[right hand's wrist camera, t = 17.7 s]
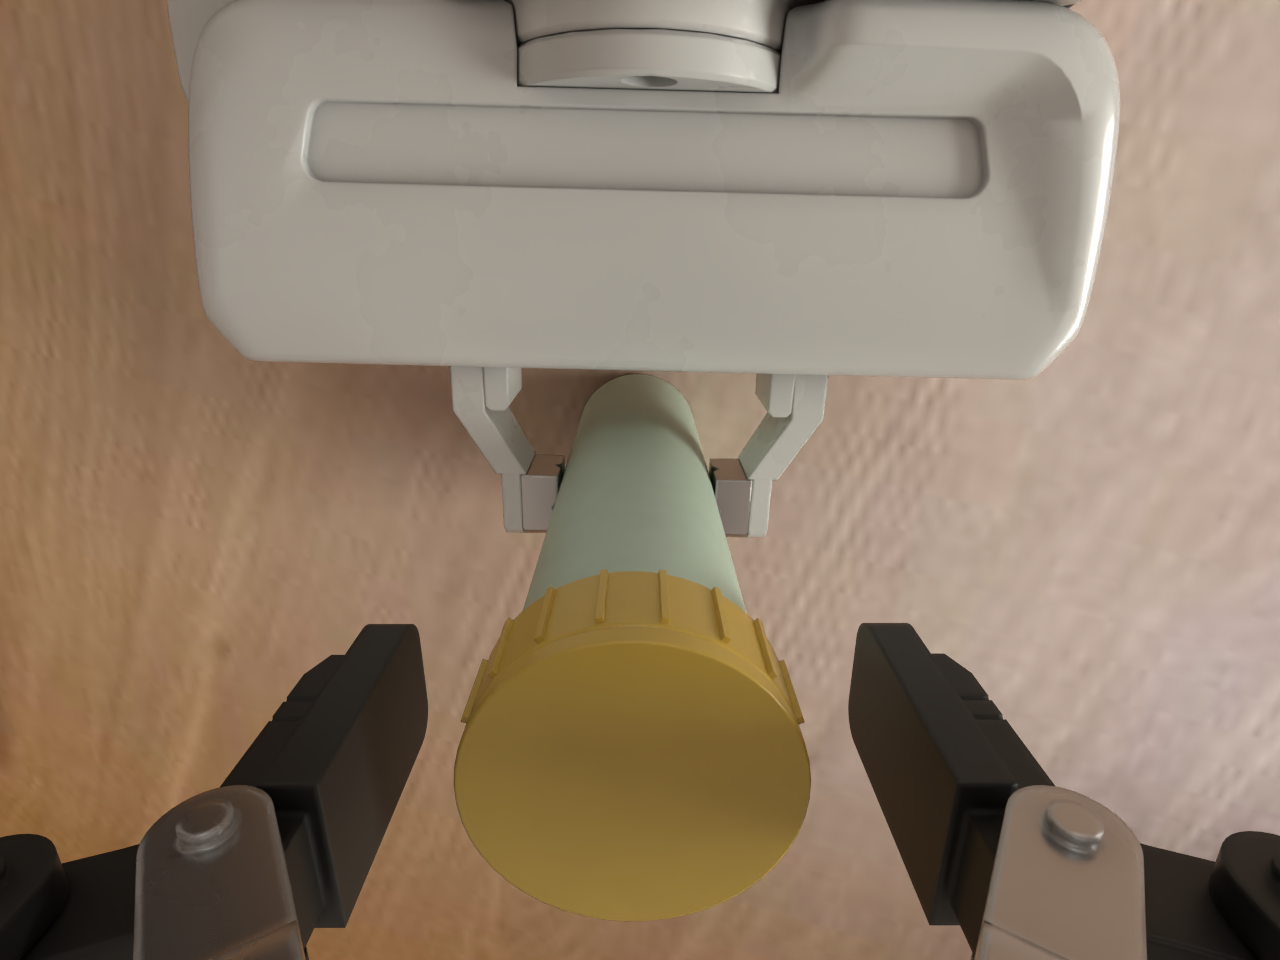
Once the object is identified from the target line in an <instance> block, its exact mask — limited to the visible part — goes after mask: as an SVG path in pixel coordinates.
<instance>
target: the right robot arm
mask: <svg viewBox="0 0 1280 960" xmlns="http://www.w3.org/2000/svg"><path fill="white" fill-rule="evenodd" d="M848 710H849V723H850V729H851V734H852V738H853V741H854V743H855V746H856V748H857V751H858V753H859V756H860V758H861V760H862V763H863V765H864V768H865V770H866V772H867V775H868V777H869V780H870V782H871V785H872V787H873V789H874V792H875V794H876V797H877V799H878V801H879V804H880V806H881V809H882V811H883V814H884V816H885V818H886V821H887V823H888V826H889V828H890V830H891V833H892V835H893V838H894V840H895V843H896V845H897V847H898V850H899V852H900V855H901V857H902V860H903V862H904V864H905V867H906V869H907V872H908V874H909V876H910V879H911V881H912V884H913V886H914V889H915V891H916V893H917V896H918V898H919V901H920V903H921V905H922V908H923V910H924V913H925V915H926V918H927V920H928V922H929V925H960V926H961V928H962V930H963V932H964V934H965V937H966V939H967V941H968V943H969V945H970V948H971V950H972V956H971V960H1280V836H1278V835H1275V834H1270V833H1264V832H1255V831H1246V832H1238V833H1235V834H1232V835H1230V836H1229V837H1227V838H1226V839H1225V841H1224V842H1223V843H1222V846H1221V849H1220V851H1219V854H1218V857H1217V859H1216V862H1213V861H1209V860H1205V859H1201V858H1197V857H1193V856H1188V855H1184V854H1180V853H1176V852H1172V851H1168V850H1164V849H1160V848H1156V847H1151V846H1148V845H1144V844H1141V843H1139V841H1138V839H1137V837H1136V836H1135V834H1134V833H1133V831H1132V830H1131V829H1130V828H1129V827H1128V826H1127V824H1126V823H1125V822H1123V821H1122V820H1121V819H1120V818H1119V817H1118V816H1117V815H1116V814H1114V813H1113V812H1112V811H1110V810H1109V809H1108V808H1106V807H1104V806H1103V805H1101V804H1100V803H1098V802H1096V801H1094V800H1092V799H1090V798H1088V797H1087V796H1084V795H1082V794H1079V793H1077V792H1074V791H1071V790H1068V789H1064V788H1060V787H1055V785H1054V784H1053V783H1052V781H1051V780H1050V778H1049V777H1048V776H1047V774H1046V773H1045V772H1044V770H1043V769H1042V768H1041V766H1040V765H1039V764H1038V762H1037V761H1036V760H1035V758H1034V757H1033V755H1032V754H1031V753H1030V751H1029V750H1028V749H1027V747H1026V746H1025V745H1024V743H1023V742H1022V741H1021V739H1020V738H1019V737H1018V735H1017V734H1016V732H1015V731H1014V730H1013V728H1012V727H1011V726H1010V724H1009V723H1008V722H1007V720H1003V718H1002V714H1001V712H1000V711H999V710H998V708H997V707H996V705H995V704H994V703H993V701H992V700H989V699H988V695H987V693H986V692H985V691H984V689H983V688H982V687H981V685H980V684H979V682H978V681H977V680H976V678H975V677H974V676H973V674H972V673H971V672H969V671H968V670H966V669H965V668H964V667H962V666H961V665H959V664H958V663H957V662H955V661H954V660H952V659H951V658H950V657H948V656H947V655H945V654H931V653H930V652H929V650H928V649H927V647H926V646H925V644H924V643H923V642H922V640H921V639H920V637H919V636H918V634H917V633H916V631H915V630H914V628H913V627H912V626H911V625H910V624H908V623H862V624H861V625H860V627H859V629H858V632H857V638H856V646H855V654H854V662H853V670H852V679H851V687H850V695H849V707H848ZM427 720H428V700H427V692H426V684H425V676H424V668H423V660H422V652H421V644H420V637H419V632H418V629H417V627H416V626H415V625H414V624H368V625H366V626H365V627H364V628H363V629H362V631H361V632H360V634H359V635H358V637H357V638H356V640H355V641H354V642H353V644H352V645H351V647H350V648H349V650H348V651H347V653H346V654H345V655H331V656H329V657H328V658H327V659H325V660H324V661H322V662H321V663H319V664H318V665H317V666H315V667H314V668H312V669H311V670H310V671H308V672H307V673H305V674H304V675H303V676H302V678H301V679H300V680H299V682H298V683H297V685H296V686H295V687H294V689H293V690H292V691H291V693H290V694H289V695H288V697H287V701H286V702H283V703H282V705H281V706H280V707H279V709H278V710H277V711H276V713H275V714H274V715H273V720H272V721H269V722H268V723H267V725H266V726H265V727H264V729H263V730H262V731H261V733H260V734H259V735H258V737H257V738H256V739H255V741H254V742H253V743H252V745H251V746H250V747H249V749H248V750H247V751H246V753H245V754H244V755H243V757H242V758H241V759H240V761H239V762H238V763H237V765H236V766H235V767H234V769H233V770H232V772H231V773H230V774H229V776H228V777H227V778H226V780H225V781H224V782H223V784H222V785H221V786H220V788H216V789H212V790H209V791H206V792H203V793H201V794H198V795H196V796H193V797H192V798H190V799H188V800H186V801H184V802H182V803H180V804H179V805H177V806H176V807H174V808H172V809H171V810H170V811H168V812H167V813H166V814H164V815H163V816H162V817H161V818H160V819H159V820H158V821H157V822H155V823H154V824H153V826H152V827H151V828H150V829H149V830H148V831H147V833H146V834H145V836H144V837H143V839H142V841H141V843H140V844H138V845H134V846H131V847H128V848H124V849H120V850H116V851H112V852H107V853H103V854H99V855H95V856H91V857H87V858H83V859H79V860H75V861H71V862H66V863H62V864H61V861H60V859H59V856H58V853H57V851H56V848H55V846H54V844H53V843H52V842H51V841H50V840H49V839H47V838H46V837H43V836H40V835H35V834H17V835H11V836H5V837H1V838H0V960H309V956H308V952H307V948H306V944H307V942H308V940H309V938H310V936H311V934H312V931H313V929H314V928H345V927H346V925H347V922H348V920H349V917H350V915H351V913H352V910H353V908H354V905H355V903H356V901H357V898H358V896H359V894H360V891H361V889H362V886H363V884H364V882H365V879H366V877H367V874H368V872H369V870H370V867H371V865H372V863H373V860H374V858H375V855H376V853H377V851H378V848H379V846H380V843H381V841H382V839H383V836H384V834H385V832H386V829H387V827H388V824H389V822H390V820H391V817H392V815H393V812H394V810H395V808H396V805H397V803H398V801H399V798H400V796H401V793H402V791H403V789H404V786H405V784H406V781H407V779H408V777H409V774H410V772H411V770H412V767H413V765H414V762H415V760H416V758H417V755H418V753H419V750H420V748H421V746H422V743H423V740H424V737H425V733H426V728H427Z"/></svg>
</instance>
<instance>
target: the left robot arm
mask: <svg viewBox="0 0 1280 960" xmlns="http://www.w3.org/2000/svg"><path fill="white" fill-rule="evenodd" d="M1080 1H1081V0H168V15H169V21H170V27H171V33H172V38H173V44H174V50H175V55H176V61H177V67H178V72H179V78H180V81H181V85H182V88H183V90H184V93H185V96H186V98H187V100H188V102H189V107H188V133H189V181H190V198H191V214H192V227H193V238H194V249H195V259H196V267H197V275H198V284H199V290H200V295H201V301H202V305H203V308H204V311H205V314H206V316H207V318H208V320H209V321H210V322H211V323H212V324H213V325H214V327H215V328H216V329H217V330H218V331H219V332H220V333H221V334H222V336H223V337H224V338H225V339H226V340H227V341H228V342H229V343H230V344H231V345H232V346H233V347H234V348H235V349H236V350H237V351H238V352H239V353H240V355H241V356H243V357H244V358H246V359H248V360H252V361H262V362H299V363H340V364H382V365H424V366H450V375H451V389H452V404H453V411H454V413H455V414H456V416H457V417H458V419H459V420H460V421H461V423H462V424H463V426H464V427H465V429H466V430H467V432H468V433H469V435H470V436H471V438H472V439H473V440H474V442H475V443H476V445H477V446H478V448H479V449H480V451H481V452H482V454H483V455H484V456H485V458H486V459H487V461H488V462H489V464H490V465H491V467H492V468H493V470H494V471H495V473H496V474H501V477H502V497H503V518H504V527H505V530H506V532H514V533H543V532H547V529H548V526H549V522H550V519H551V516H552V512H553V509H554V506H555V502H556V499H557V496H558V492H559V489H560V486H561V482H562V479H563V476H564V472H565V460H564V455H545V454H535V453H536V452H535V450H534V449H533V447H532V445H531V444H530V442H529V440H528V439H527V437H526V435H525V434H524V432H523V430H522V428H521V427H520V425H519V423H518V422H517V420H516V418H515V417H514V415H513V413H512V412H511V410H510V408H509V405H510V404H511V402H512V401H513V400H514V398H515V397H516V396H517V394H518V393H519V391H520V390H521V389H522V373H521V368H549V369H591V370H633V371H675V372H716V373H757V377H756V393H755V394H756V395H757V397H758V398H759V400H760V401H761V403H762V404H763V406H764V407H765V409H766V410H767V412H768V413H767V414H766V416H765V417H764V419H763V420H762V422H761V423H760V425H759V426H758V428H757V429H756V431H755V432H754V434H753V435H752V437H751V438H750V440H749V442H748V443H747V445H746V446H745V448H744V449H743V451H742V452H741V454H740V455H739V459H710V463H709V477H710V481H711V484H712V488H713V492H714V495H715V499H716V503H717V506H718V510H719V514H720V518H721V521H722V525H723V529H724V532H725V536H726V537H749V538H764V537H765V536H766V533H767V528H768V518H769V507H770V497H771V487H772V480H778V478H779V477H780V476H781V474H782V473H783V472H784V470H785V469H786V468H787V466H788V465H789V464H790V462H791V461H792V460H793V459H794V457H795V456H796V455H797V453H798V452H799V451H800V449H801V448H802V447H803V445H804V444H805V443H806V441H807V440H808V439H809V437H810V436H811V435H812V434H813V432H814V431H815V430H816V428H817V427H818V426H819V424H820V423H821V422H822V420H823V415H824V407H825V399H826V391H827V383H828V375H842V376H883V377H925V378H967V379H1007V380H1026V379H1031V378H1033V377H1035V376H1037V375H1038V374H1039V373H1041V372H1042V371H1043V370H1044V369H1045V368H1046V367H1047V366H1048V365H1050V364H1051V363H1052V362H1053V361H1054V360H1055V359H1056V358H1057V357H1058V356H1059V355H1060V354H1061V353H1062V352H1063V351H1064V350H1065V349H1066V348H1067V347H1068V345H1069V344H1070V343H1071V342H1072V341H1073V340H1074V339H1075V337H1076V336H1077V334H1078V333H1079V330H1080V328H1081V326H1082V323H1083V321H1084V318H1085V314H1086V311H1087V307H1088V304H1089V300H1090V296H1091V292H1092V288H1093V283H1094V279H1095V274H1096V270H1097V265H1098V261H1099V256H1100V251H1101V246H1102V240H1103V235H1104V230H1105V224H1106V219H1107V213H1108V206H1109V200H1110V194H1111V188H1112V182H1113V174H1114V166H1115V158H1116V150H1117V141H1118V131H1119V120H1120V90H1119V80H1118V73H1117V69H1116V65H1115V61H1114V58H1113V55H1112V53H1111V50H1110V48H1109V46H1108V44H1107V42H1106V40H1105V38H1104V37H1103V35H1102V34H1101V33H1100V32H1099V30H1098V29H1097V28H1096V27H1095V26H1094V25H1093V24H1092V23H1091V22H1090V21H1088V20H1087V19H1086V18H1084V17H1083V16H1081V15H1080V14H1079V13H1077V12H1075V11H1073V10H1070V9H1068V8H1070V7H1071V6H1073V5H1075V4H1076V3H1078V2H1080Z"/></svg>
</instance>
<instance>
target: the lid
mask: <svg viewBox="0 0 1280 960" xmlns="http://www.w3.org/2000/svg"><path fill="white" fill-rule="evenodd" d="M461 722H464V723H466V726H465V730H464V732H463V735H462V738H461V741H460V744H459V747H458V750H457V755H456V760H455V766H454V791H455V798H456V805H457V808H458V811H459V815H460V818H461V821H462V824H463V826H464V828H465V830H466V832H467V834H468V836H469V838H470V840H471V841H472V843H473V844H474V846H475V847H476V849H477V850H478V852H479V853H480V854H481V856H482V857H483V858H484V859H485V860H486V861H487V862H488V863H489V865H490V866H491V867H492V868H493V869H494V870H495V871H496V872H498V873H499V874H500V875H501V876H502V877H503V878H505V879H506V880H507V881H508V882H509V883H511V884H512V885H514V886H515V887H517V888H518V889H520V890H521V891H523V892H524V893H526V894H528V895H530V896H532V897H534V898H536V899H538V900H539V901H541V902H543V903H546V904H548V905H551V906H553V907H556V908H559V909H561V910H564V911H567V912H571V913H575V914H578V915H582V916H587V917H592V918H598V919H604V920H615V921H652V920H661V919H669V918H674V917H679V916H684V915H688V914H692V913H695V912H698V911H701V910H705V909H708V908H710V907H713V906H715V905H717V904H720V903H722V902H724V901H727V900H729V899H730V898H732V897H734V896H736V895H738V894H739V893H741V892H743V891H745V890H746V889H748V888H749V887H750V886H752V885H753V884H754V883H756V882H757V881H759V880H760V879H761V878H762V877H764V876H765V875H766V874H767V873H768V872H769V871H770V870H771V869H772V868H773V867H774V866H775V865H776V864H777V863H778V862H779V861H780V859H781V858H782V857H783V856H784V855H785V853H786V852H787V851H788V849H789V848H790V846H791V845H792V843H793V841H794V840H795V838H796V836H797V835H798V832H799V830H800V828H801V825H802V823H803V821H804V818H805V815H806V811H807V807H808V803H809V799H810V788H811V773H810V761H809V758H808V754H807V750H806V746H805V742H804V739H803V736H802V733H801V730H800V727H799V724H801V723H804V719H803V716H802V713H801V710H800V707H799V704H798V701H797V698H796V695H795V692H794V688H793V685H792V682H791V679H790V676H789V673H788V670H787V667H786V664H785V661H784V660H781V661H778V658H777V656H776V654H775V651H774V649H773V647H772V645H771V644H770V642H769V641H768V639H767V637H766V635H765V631H764V628H763V625H762V622H761V621H760V620H759V619H758V618H757V619H756V620H754V621H753V620H752V618H751V617H750V616H748V615H747V614H746V613H745V612H744V611H743V610H742V609H740V608H739V607H738V606H737V605H736V604H734V603H733V602H731V601H730V600H728V599H727V598H725V597H724V596H722V594H721V590H720V589H719V588H717V587H715V586H714V588H713V589H712V590H711V589H709V588H707V587H705V586H703V585H701V584H699V583H695V582H693V581H690V580H687V579H684V578H681V577H676V576H672V575H667V571H666V570H661V569H659V573H654V572H644V571H619V572H612V573H608V569H605V570H600V574H598V575H594V576H590V577H586V578H582V579H579V580H576V581H574V582H571V583H568V584H566V585H563V586H561V587H559V588H557V589H554V587H553V586H551V587H549V588H547V589H546V593H545V595H544V596H542V597H541V598H539V599H538V600H536V601H535V602H534V603H532V604H531V605H530V606H528V607H527V608H525V609H524V610H523V611H522V612H521V613H520V614H519V615H518V616H517V617H516V618H515V619H514V620H512V619H511V618H508V619H507V620H506V621H505V624H504V627H503V630H502V633H501V636H500V638H499V640H498V641H497V643H496V645H495V647H494V649H493V650H492V652H491V655H490V658H489V660H485V659H483V660H482V663H481V666H480V669H479V671H478V674H477V677H476V680H475V682H474V685H473V688H472V691H471V694H470V696H469V699H468V702H467V705H466V708H465V710H464V713H463V716H462V719H461Z"/></svg>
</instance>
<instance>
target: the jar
mask: <svg viewBox="0 0 1280 960" xmlns="http://www.w3.org/2000/svg"><path fill="white" fill-rule="evenodd" d="M605 569H608V573H612V572H619V571H644V572H654V573H659V569H661V570H666V571H667V575H672V576H676V577H681V578H684V579H687V580H690V581H693V582H695V583H699V584H701V585H703V586H705V587H707V588H709V589H711V590H712V589H713V588H714V586H715V587H717V588H719V589H720V590H721V594H722V596H724V597H725V598H727V599H728V600H730V601H731V602H733V603H734V604H736V605H737V606H738V607H739V608H740V609H742V610H743V611H744V612H745V613H746V610H745V606H744V602H743V599H742V595H741V591H740V588H739V584H738V580H737V577H736V573H735V569H734V565H733V562H732V558H731V554H730V551H729V547H728V543H727V540H726V536H725V532H724V529H723V525H722V521H721V518H720V514H719V510H718V506H717V503H716V499H715V495H714V492H713V488H712V484H711V481H710V477H709V473H708V470H707V466H706V462H705V458H704V455H703V451H702V447H701V444H700V440H699V436H698V433H697V429H696V425H695V422H694V418H693V415H692V411H691V409H690V407H689V405H688V403H687V401H686V400H685V398H684V397H683V395H682V394H681V393H680V392H679V391H678V390H677V389H676V388H675V387H674V386H672V385H671V384H669V383H668V382H666V381H664V380H662V379H660V378H657V377H654V376H650V375H645V374H629V375H624V376H620V377H617V378H614V379H612V380H610V381H608V382H607V383H605V384H604V385H602V386H601V387H600V388H599V389H597V390H596V391H595V392H594V394H593V395H592V396H591V397H590V399H589V400H588V402H587V403H586V405H585V407H584V410H583V413H582V416H581V419H580V422H579V426H578V429H577V432H576V436H575V439H574V442H573V446H572V449H571V452H570V456H569V459H568V462H567V466H566V469H565V472H564V476H563V479H562V482H561V486H560V489H559V492H558V496H557V499H556V502H555V506H554V509H553V512H552V516H551V519H550V522H549V526H548V529H547V532H546V536H545V539H544V542H543V546H542V549H541V552H540V556H539V559H538V562H537V566H536V569H535V572H534V576H533V579H532V582H531V586H530V589H529V592H528V596H527V599H526V602H525V606H524V609H525V608H527V607H528V606H530V605H531V604H532V603H534V602H535V601H536V600H538V599H539V598H541V597H542V596H544V595H545V593H546V589H547V588H549V587H551V586H553V587H554V589H557V588H559V587H561V586H563V585H566V584H568V583H571V582H574V581H576V580H579V579H582V578H586V577H590V576H594V575H598V574H600V570H605ZM524 609H523V610H524ZM746 614H747V613H746Z"/></svg>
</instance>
